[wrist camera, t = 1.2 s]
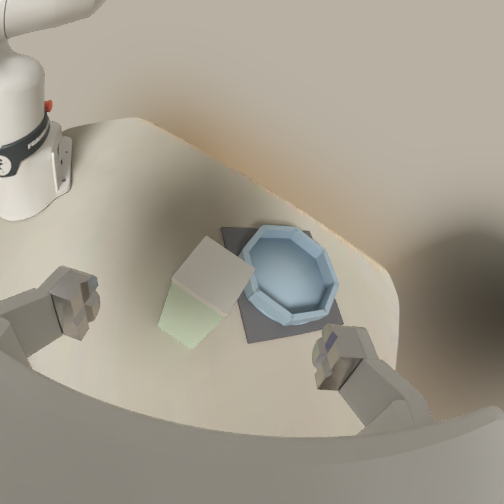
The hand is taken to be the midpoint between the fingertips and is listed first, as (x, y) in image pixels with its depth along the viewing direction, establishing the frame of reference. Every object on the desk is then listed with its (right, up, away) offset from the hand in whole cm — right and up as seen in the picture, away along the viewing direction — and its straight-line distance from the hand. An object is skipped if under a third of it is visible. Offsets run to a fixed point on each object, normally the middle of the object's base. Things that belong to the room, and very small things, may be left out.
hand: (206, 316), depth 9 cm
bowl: (+7, -2, +38) cm, 39 cm away
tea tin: (-8, -8, +27) cm, 29 cm away
